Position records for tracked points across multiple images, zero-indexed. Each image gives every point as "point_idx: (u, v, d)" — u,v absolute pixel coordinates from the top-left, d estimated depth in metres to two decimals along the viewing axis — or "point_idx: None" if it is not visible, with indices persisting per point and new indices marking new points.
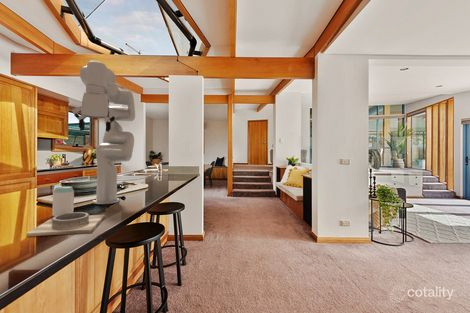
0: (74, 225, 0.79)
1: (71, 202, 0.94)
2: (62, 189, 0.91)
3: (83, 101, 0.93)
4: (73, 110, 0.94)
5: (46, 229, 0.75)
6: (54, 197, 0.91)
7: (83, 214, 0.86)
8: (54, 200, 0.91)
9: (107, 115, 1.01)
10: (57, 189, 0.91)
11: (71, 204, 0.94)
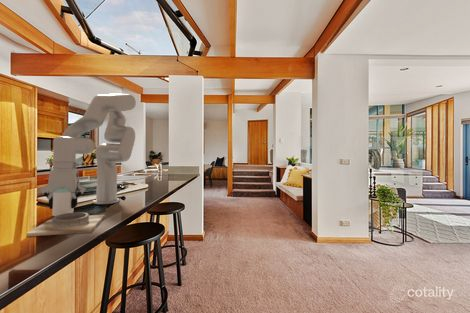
0: (74, 225, 0.79)
1: (71, 202, 0.94)
2: (62, 189, 0.91)
3: (50, 178, 0.91)
4: (41, 190, 0.91)
5: (46, 229, 0.75)
6: (54, 197, 0.91)
7: (83, 214, 0.86)
8: (54, 200, 0.91)
9: (77, 187, 0.98)
10: (57, 189, 0.91)
11: None
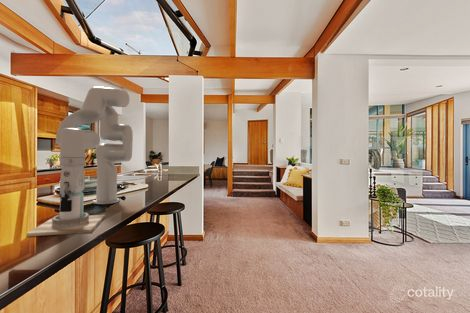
0: (74, 225, 0.79)
1: None
2: None
3: None
4: None
5: (46, 229, 0.75)
6: None
7: (83, 214, 0.86)
8: None
9: (76, 189, 0.79)
10: None
11: None
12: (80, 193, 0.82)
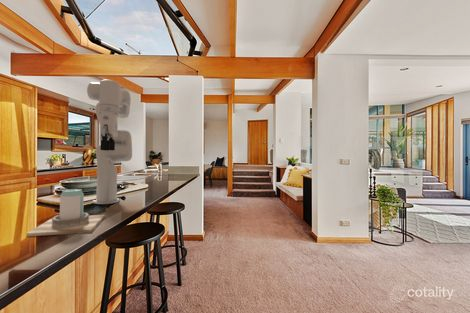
0: (74, 225, 0.79)
1: (64, 209, 0.79)
2: None
3: None
4: None
5: (46, 229, 0.75)
6: None
7: (83, 214, 0.86)
8: None
9: (113, 132, 0.92)
10: None
11: (64, 211, 0.79)
12: (80, 193, 0.82)
